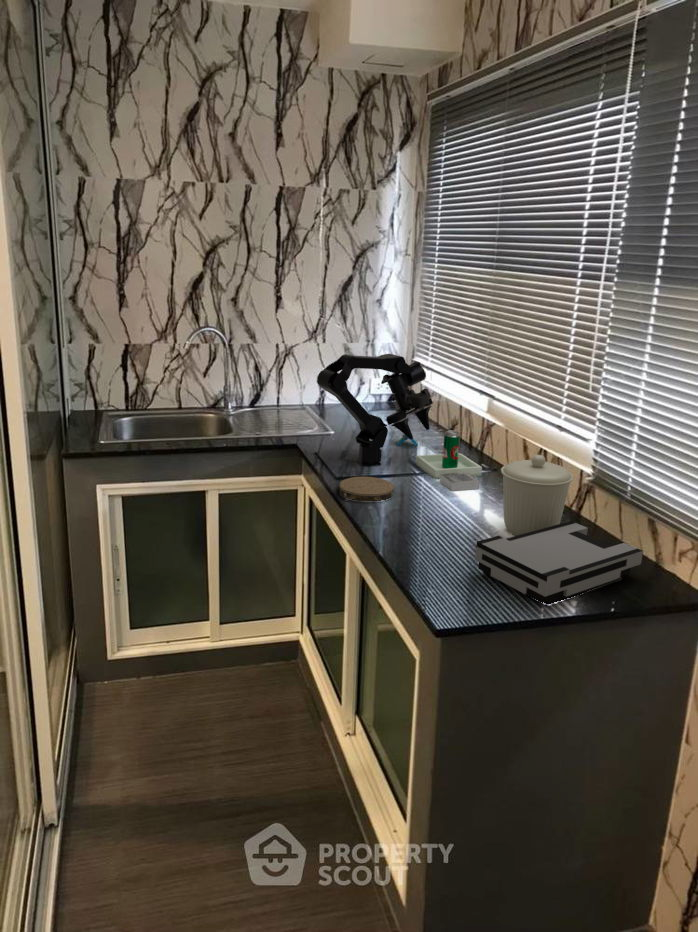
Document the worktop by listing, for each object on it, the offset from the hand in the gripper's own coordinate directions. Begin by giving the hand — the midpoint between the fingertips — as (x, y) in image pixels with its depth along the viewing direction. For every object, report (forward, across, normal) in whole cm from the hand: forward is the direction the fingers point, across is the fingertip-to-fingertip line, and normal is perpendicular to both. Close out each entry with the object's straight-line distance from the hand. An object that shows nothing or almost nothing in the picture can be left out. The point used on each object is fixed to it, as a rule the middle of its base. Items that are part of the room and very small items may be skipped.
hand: (420, 434), depth 253 cm
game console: (+36, -49, -64) cm, 89 cm away
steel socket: (+18, -11, -16) cm, 26 cm away
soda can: (+14, -1, -6) cm, 15 cm away
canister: (+31, -30, -48) cm, 64 cm away
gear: (+4, +13, +20) cm, 24 cm away
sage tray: (+14, -1, -6) cm, 15 cm away
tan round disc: (+7, -38, -5) cm, 39 cm away
